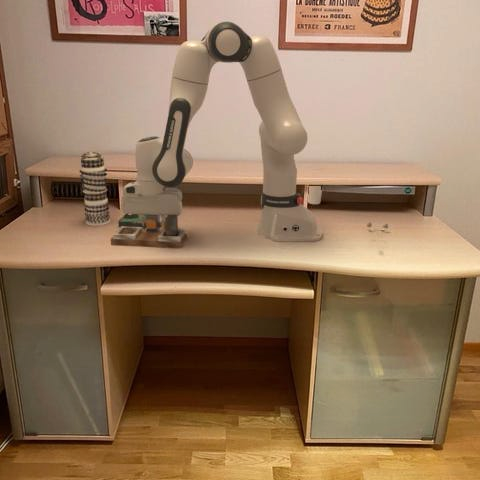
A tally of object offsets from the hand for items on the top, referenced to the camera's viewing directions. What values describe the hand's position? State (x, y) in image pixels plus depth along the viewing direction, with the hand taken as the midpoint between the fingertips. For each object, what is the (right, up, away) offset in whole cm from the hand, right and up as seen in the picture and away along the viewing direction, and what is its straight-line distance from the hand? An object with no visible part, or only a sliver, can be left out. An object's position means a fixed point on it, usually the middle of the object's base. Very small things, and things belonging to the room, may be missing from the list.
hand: (153, 226), depth 162 cm
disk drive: (-8, +2, +13) cm, 15 cm away
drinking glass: (+60, +11, +38) cm, 72 cm away
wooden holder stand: (0, -5, -7) cm, 8 cm away
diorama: (+76, -5, -2) cm, 76 cm away
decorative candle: (-22, +2, +11) cm, 25 cm away
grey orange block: (0, -2, +1) cm, 2 cm away
